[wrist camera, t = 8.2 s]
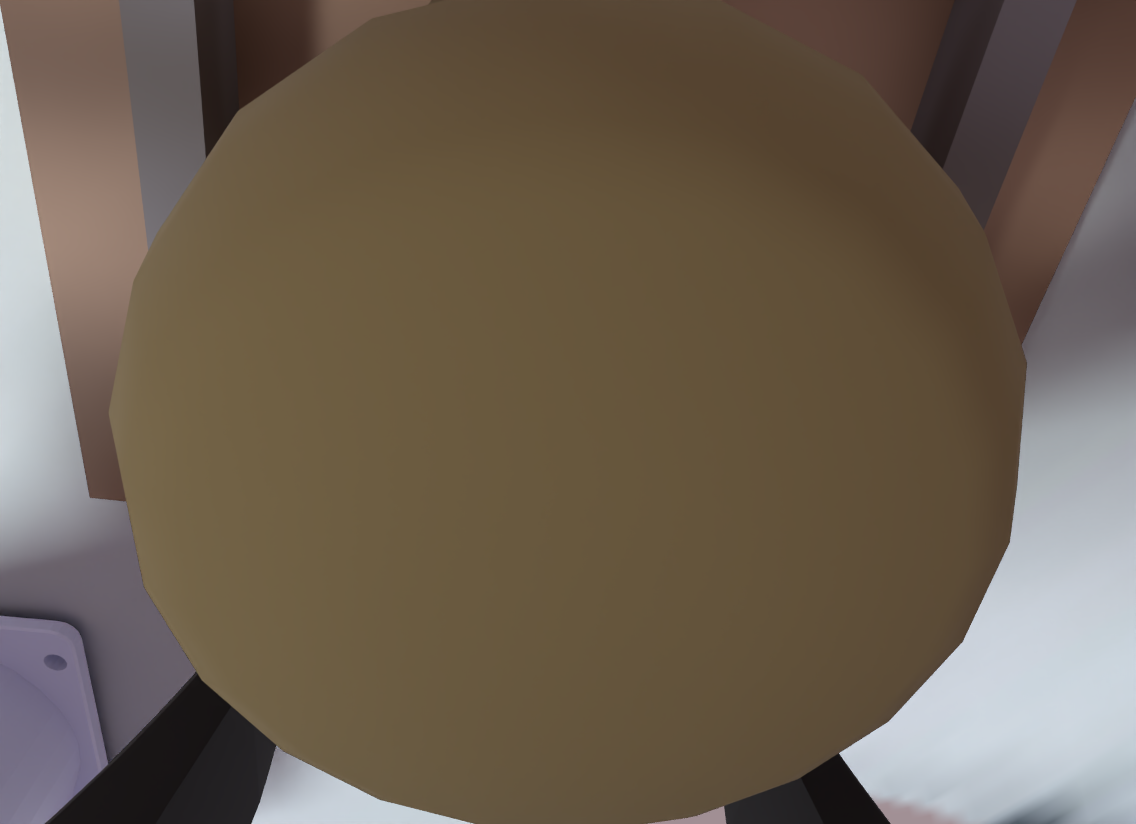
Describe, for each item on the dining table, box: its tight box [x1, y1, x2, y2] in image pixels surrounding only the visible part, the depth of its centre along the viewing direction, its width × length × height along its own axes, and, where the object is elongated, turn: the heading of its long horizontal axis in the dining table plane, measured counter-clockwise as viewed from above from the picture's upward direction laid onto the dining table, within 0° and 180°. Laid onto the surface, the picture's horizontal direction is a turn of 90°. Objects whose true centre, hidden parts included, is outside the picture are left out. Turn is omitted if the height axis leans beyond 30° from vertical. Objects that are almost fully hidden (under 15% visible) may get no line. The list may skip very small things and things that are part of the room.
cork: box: [108, 0, 1027, 824], centre depth 8 cm, size 6×6×11 cm
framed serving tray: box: [0, 0, 1136, 501], centre depth 13 cm, size 16×18×2 cm
